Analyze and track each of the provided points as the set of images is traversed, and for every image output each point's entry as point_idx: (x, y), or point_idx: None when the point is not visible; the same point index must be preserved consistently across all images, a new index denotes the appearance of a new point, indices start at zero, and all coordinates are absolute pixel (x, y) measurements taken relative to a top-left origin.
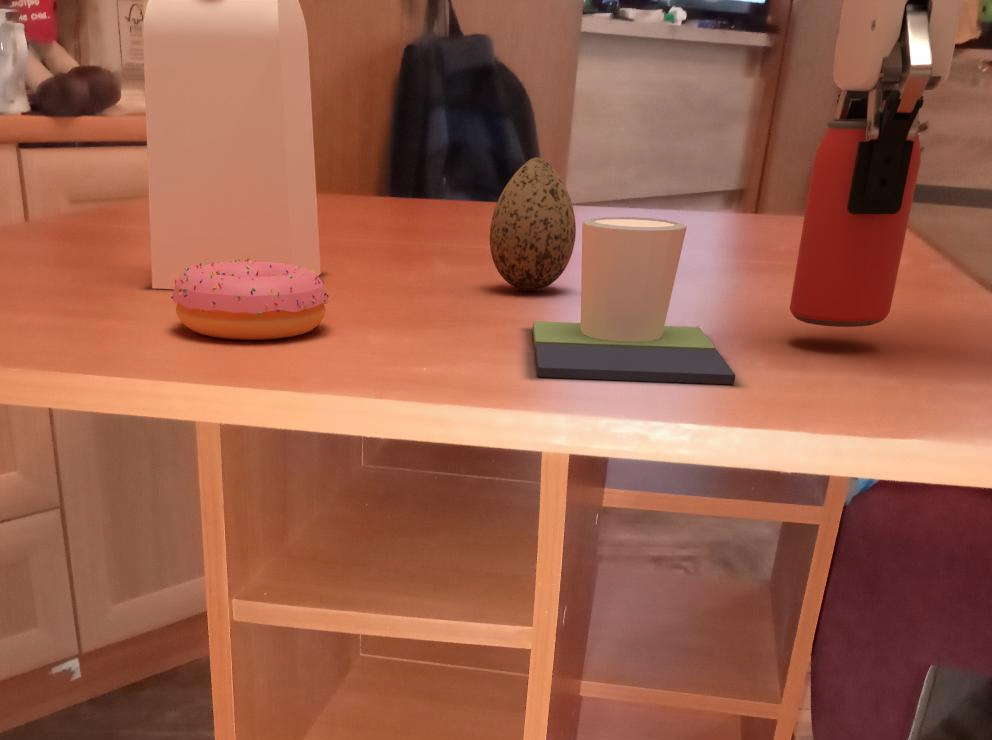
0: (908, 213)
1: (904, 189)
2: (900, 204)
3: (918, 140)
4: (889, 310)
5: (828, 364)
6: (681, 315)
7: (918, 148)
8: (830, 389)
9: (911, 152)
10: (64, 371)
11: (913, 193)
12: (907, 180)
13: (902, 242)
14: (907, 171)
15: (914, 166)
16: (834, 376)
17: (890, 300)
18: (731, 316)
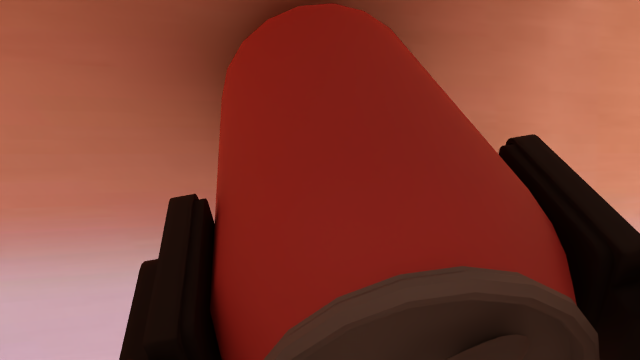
0: (426, 90)
1: (560, 160)
2: (541, 142)
3: (480, 221)
4: (348, 8)
5: (466, 91)
6: (123, 299)
7: (501, 201)
8: (628, 96)
9: (627, 224)
10: None
11: (414, 107)
12: (504, 161)
13: (404, 61)
14: (593, 190)
15: (504, 170)
16: (550, 87)
17: (370, 19)
18: (85, 236)
